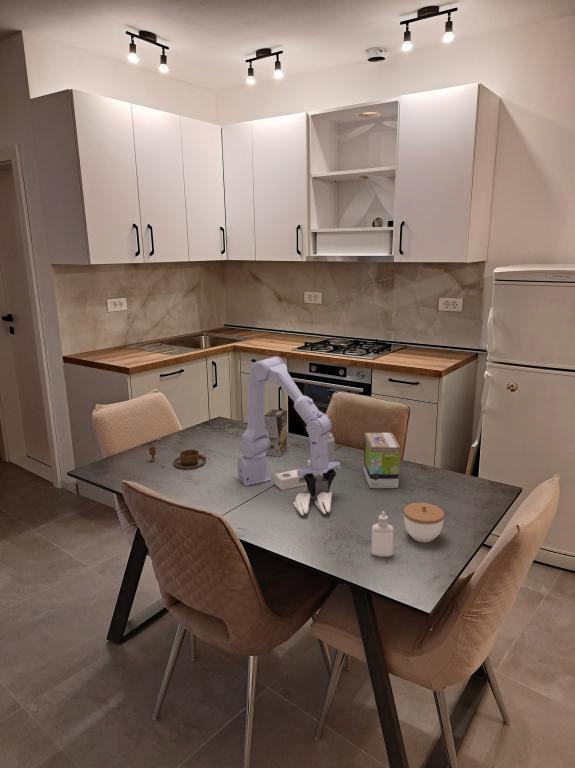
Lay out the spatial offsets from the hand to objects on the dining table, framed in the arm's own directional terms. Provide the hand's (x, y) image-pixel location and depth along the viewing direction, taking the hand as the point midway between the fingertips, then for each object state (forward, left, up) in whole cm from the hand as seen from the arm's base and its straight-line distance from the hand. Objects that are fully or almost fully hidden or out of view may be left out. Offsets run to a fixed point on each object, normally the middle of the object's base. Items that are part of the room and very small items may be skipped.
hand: (319, 493), depth 177 cm
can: (+15, +23, -2) cm, 28 cm away
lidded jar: (+14, -34, -2) cm, 37 cm away
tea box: (+26, +3, -2) cm, 26 cm away
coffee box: (+5, +43, -2) cm, 44 cm away
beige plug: (+6, +14, +2) cm, 15 cm away
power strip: (+1, +14, -2) cm, 14 cm away
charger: (0, +3, -2) cm, 3 cm away
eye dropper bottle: (-1, -36, -2) cm, 36 cm away
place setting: (-30, +51, -3) cm, 60 cm away
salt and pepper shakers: (-6, -6, -2) cm, 9 cm away
